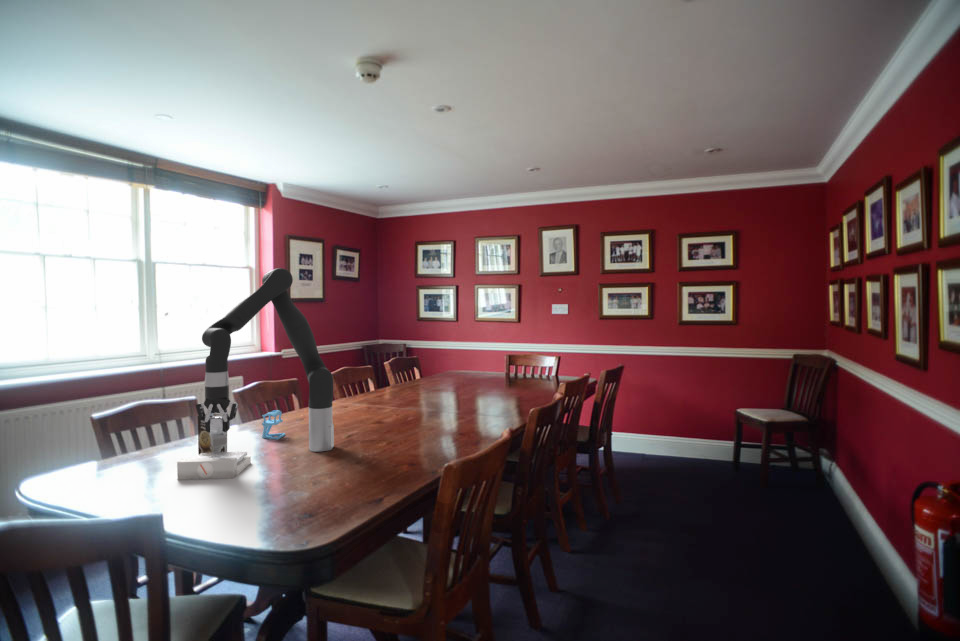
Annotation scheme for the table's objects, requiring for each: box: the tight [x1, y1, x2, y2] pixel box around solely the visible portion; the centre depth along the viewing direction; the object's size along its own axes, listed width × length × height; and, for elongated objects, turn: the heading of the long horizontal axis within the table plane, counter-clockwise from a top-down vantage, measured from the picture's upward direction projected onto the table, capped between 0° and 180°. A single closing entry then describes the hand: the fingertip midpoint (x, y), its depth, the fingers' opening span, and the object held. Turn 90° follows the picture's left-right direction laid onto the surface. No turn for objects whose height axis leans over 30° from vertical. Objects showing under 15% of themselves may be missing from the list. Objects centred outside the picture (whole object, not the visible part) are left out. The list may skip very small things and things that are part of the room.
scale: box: [176, 455, 252, 481], centre depth 175 cm, size 18×16×6 cm
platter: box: [192, 451, 248, 463], centre depth 177 cm, size 16×11×1 cm
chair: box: [261, 409, 286, 441], centre depth 220 cm, size 8×8×12 cm
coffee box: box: [197, 413, 228, 455], centre depth 191 cm, size 9×6×16 cm
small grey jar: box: [210, 416, 226, 436], centre depth 177 cm, size 5×5×6 cm
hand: (217, 431), depth 177 cm, fingers closed on small grey jar, 5 cm apart
